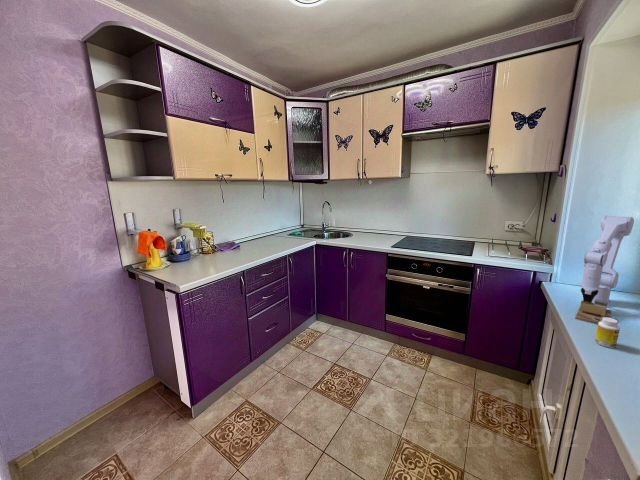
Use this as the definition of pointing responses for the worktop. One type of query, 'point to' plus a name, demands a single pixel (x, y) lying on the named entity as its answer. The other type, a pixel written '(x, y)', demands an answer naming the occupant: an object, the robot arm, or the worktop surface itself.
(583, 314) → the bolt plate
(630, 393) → the worktop surface
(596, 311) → the divider leg
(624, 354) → the worktop surface
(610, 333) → the supplement bottle
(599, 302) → the grey piece
